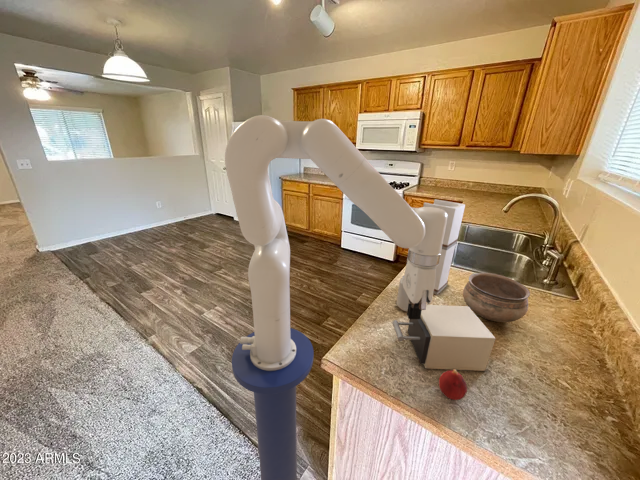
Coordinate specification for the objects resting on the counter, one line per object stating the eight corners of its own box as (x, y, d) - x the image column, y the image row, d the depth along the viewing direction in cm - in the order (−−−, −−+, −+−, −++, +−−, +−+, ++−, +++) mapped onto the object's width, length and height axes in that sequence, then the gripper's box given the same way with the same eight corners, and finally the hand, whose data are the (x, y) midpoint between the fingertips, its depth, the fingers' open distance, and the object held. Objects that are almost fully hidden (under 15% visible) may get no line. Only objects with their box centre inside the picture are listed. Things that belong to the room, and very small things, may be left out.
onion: (466, 397, 63) (474, 371, 60) (457, 413, 59) (465, 386, 56) (442, 381, 66) (448, 357, 64) (432, 395, 63) (438, 370, 60)
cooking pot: (514, 347, 78) (527, 313, 74) (448, 318, 90) (456, 287, 86) (526, 311, 96) (537, 282, 91) (470, 291, 108) (477, 264, 103)
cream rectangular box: (425, 368, 70) (432, 335, 66) (410, 333, 83) (415, 304, 79) (485, 371, 70) (495, 338, 66) (460, 335, 83) (468, 306, 79)
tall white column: (447, 285, 112) (465, 204, 99) (437, 294, 105) (455, 208, 92) (421, 275, 119) (435, 199, 107) (410, 284, 112) (423, 203, 100)
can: (414, 315, 91) (420, 285, 87) (393, 308, 95) (397, 279, 91) (419, 305, 97) (425, 276, 93) (399, 299, 101) (403, 271, 97)
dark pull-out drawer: (398, 362, 71) (402, 336, 67) (388, 331, 82) (391, 306, 79) (475, 366, 70) (483, 339, 67) (454, 333, 82) (460, 309, 79)
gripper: (400, 245, 73) (393, 301, 80) (417, 270, 59) (407, 335, 66) (427, 246, 73) (418, 302, 80) (451, 270, 59) (437, 336, 66)
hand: (413, 317), depth 73 cm, fingers closed
